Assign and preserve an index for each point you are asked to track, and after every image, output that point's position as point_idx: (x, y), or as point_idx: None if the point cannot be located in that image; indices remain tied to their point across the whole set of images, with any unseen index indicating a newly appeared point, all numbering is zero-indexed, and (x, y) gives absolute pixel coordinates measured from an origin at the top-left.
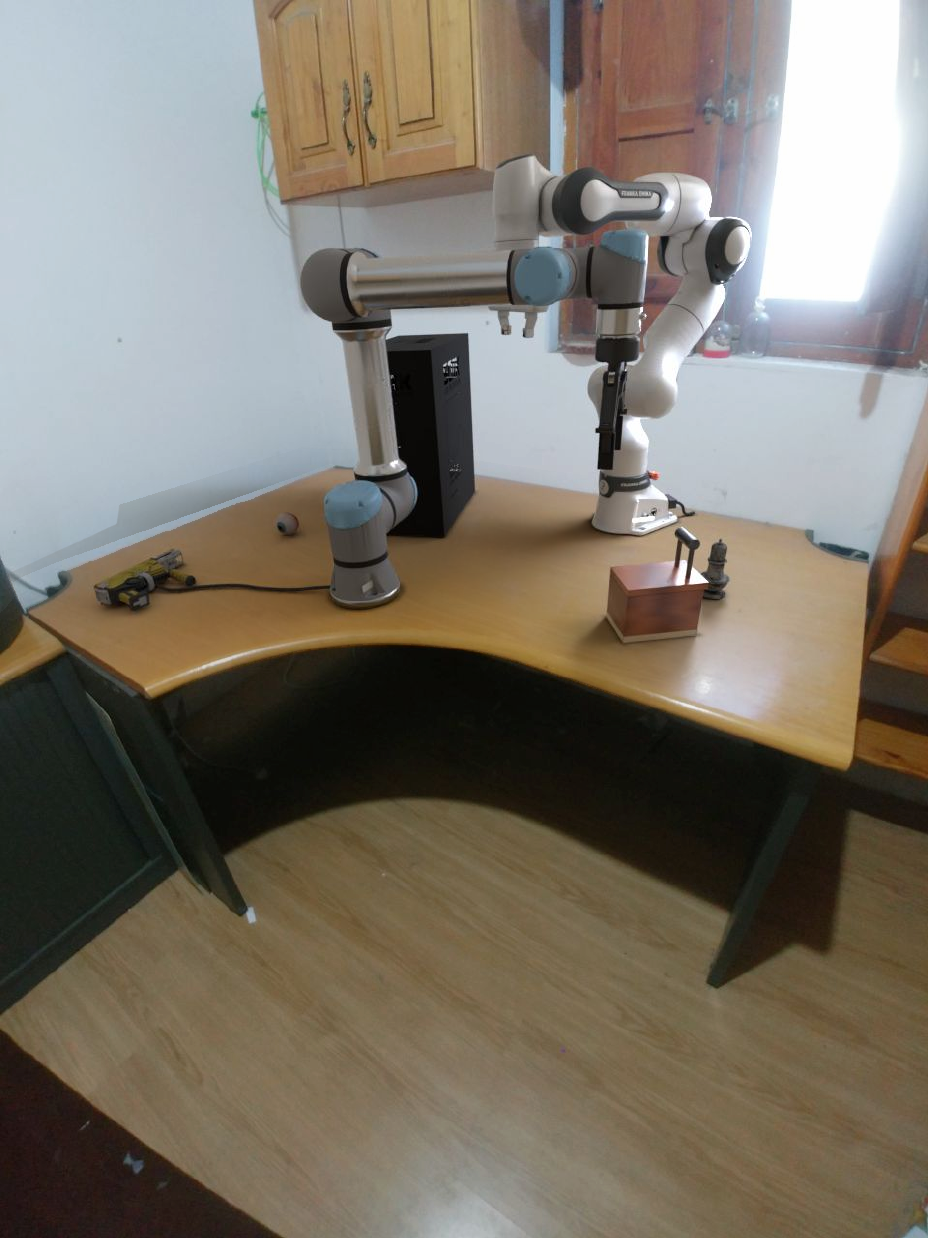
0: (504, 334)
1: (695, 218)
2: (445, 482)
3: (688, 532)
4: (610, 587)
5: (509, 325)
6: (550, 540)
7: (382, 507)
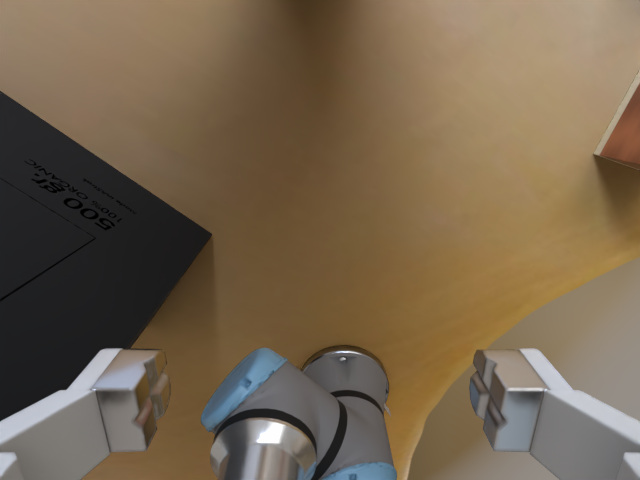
0: (165, 395)
1: None
2: (151, 250)
3: None
4: (636, 164)
5: (116, 397)
6: (316, 69)
7: (368, 451)
